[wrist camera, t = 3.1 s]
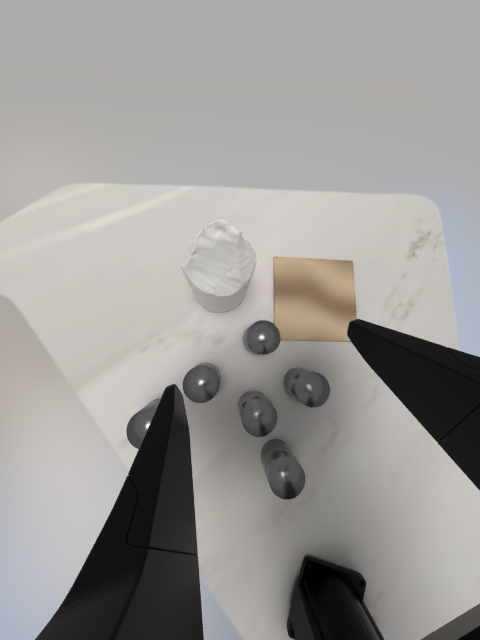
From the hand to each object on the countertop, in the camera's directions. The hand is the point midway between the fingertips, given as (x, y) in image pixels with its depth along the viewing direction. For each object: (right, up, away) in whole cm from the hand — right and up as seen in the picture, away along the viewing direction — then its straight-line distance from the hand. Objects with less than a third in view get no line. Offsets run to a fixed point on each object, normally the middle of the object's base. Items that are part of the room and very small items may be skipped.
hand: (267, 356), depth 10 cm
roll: (-4, +5, +14) cm, 16 cm away
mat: (+8, +4, +15) cm, 17 cm away
